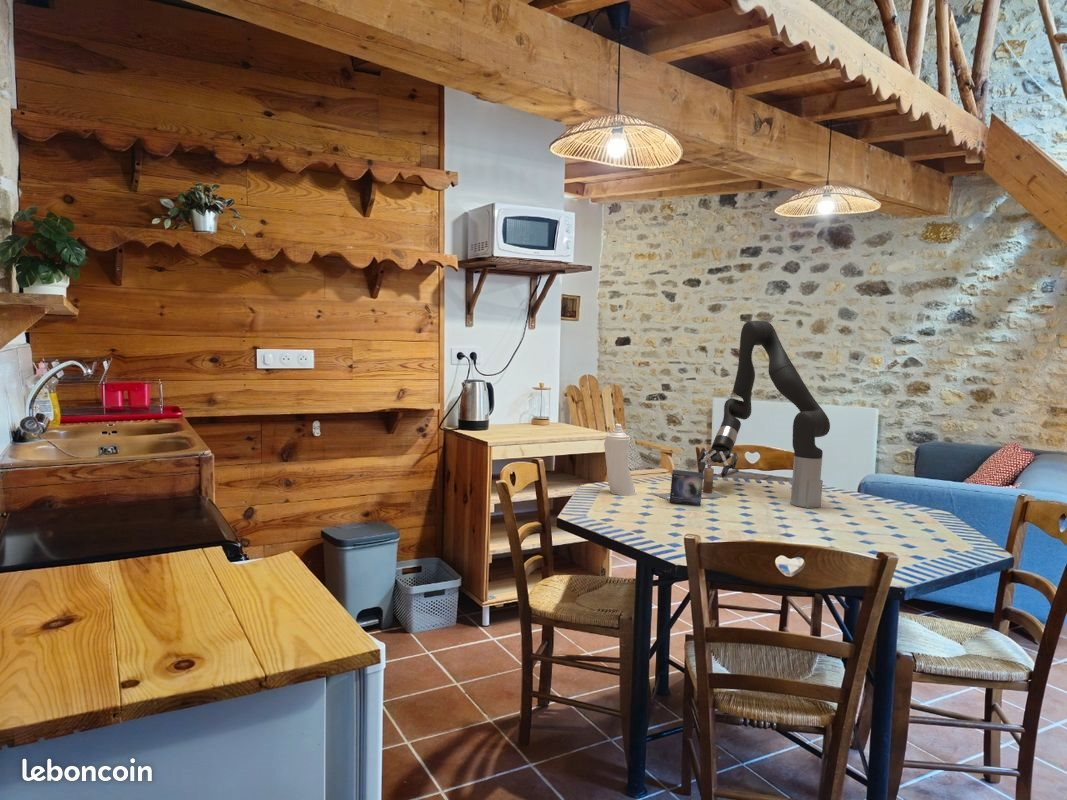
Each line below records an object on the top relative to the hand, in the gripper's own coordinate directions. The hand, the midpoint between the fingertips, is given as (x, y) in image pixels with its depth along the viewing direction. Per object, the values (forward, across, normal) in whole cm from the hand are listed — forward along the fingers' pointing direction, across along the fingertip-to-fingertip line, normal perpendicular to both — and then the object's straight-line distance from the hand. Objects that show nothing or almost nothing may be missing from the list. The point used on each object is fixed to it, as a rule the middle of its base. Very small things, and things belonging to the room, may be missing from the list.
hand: (711, 473), depth 260 cm
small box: (+22, 0, -12) cm, 24 cm away
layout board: (+13, -3, -3) cm, 14 cm away
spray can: (+24, -24, -14) cm, 36 cm away
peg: (+7, 0, +3) cm, 7 cm away
